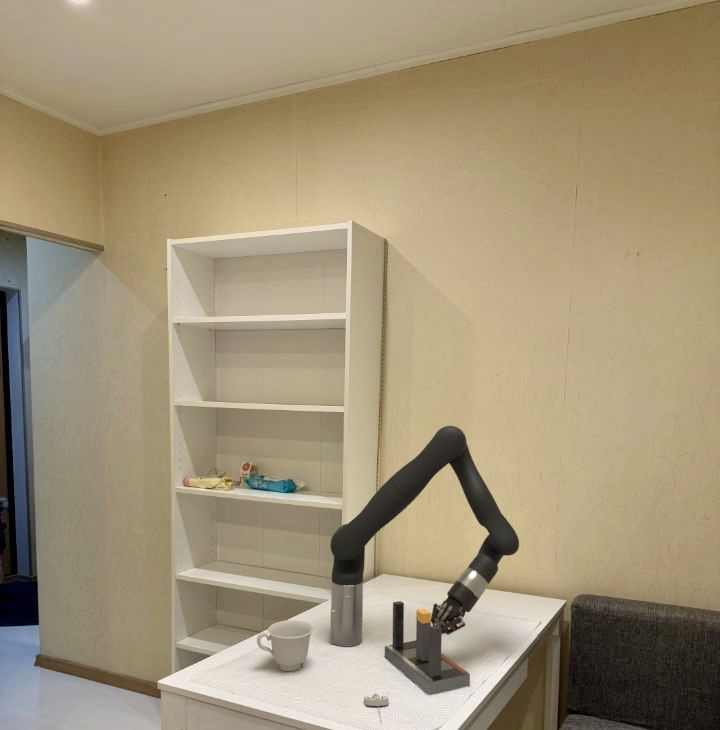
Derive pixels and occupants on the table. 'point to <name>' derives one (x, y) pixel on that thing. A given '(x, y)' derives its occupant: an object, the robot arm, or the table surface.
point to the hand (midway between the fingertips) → (428, 641)
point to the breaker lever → (422, 634)
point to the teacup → (288, 643)
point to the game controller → (376, 701)
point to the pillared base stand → (425, 674)
